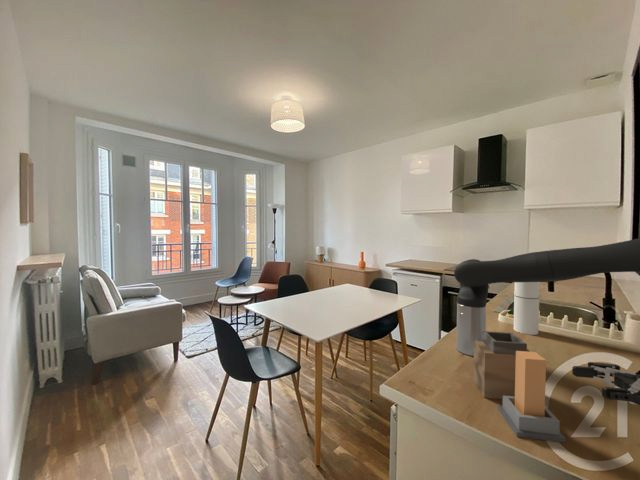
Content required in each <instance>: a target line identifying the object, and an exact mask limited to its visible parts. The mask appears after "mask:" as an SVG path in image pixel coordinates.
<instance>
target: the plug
mask: <svg viewBox="0 0 640 480" xmlns="http://www.w3.org/2000/svg"><path fill="white" fill-rule="evenodd" d="M546 375H547V360H546V359H545V358H544V357H543V356H541V355H540V354H539V353H537V352H536V351H530V352H527V351H516V367H515V407H516V408H517V410H518V411H519V412H520V413H521V415H529V416H538V417H545V406H546V379H547V378H546Z"/></svg>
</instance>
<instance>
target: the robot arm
mask: <svg viewBox="0 0 640 480" xmlns="http://www.w3.org/2000/svg"><path fill="white" fill-rule="evenodd" d="M627 272H629V273H636V275H638V276H639V277H640V238H634V239H630V240H625V241H620V242H614V243H613V242H612V243H610V244H609V243H608V244H603V245H596V246H586V247H573V248H572V247H571V248H561V249H551V250H550V249H549V250H541V251H535V252H529V253H528V252H527V253H524V254H522V253H521V254H518V255H513V256H510V257H506V258H501V259H496V260H495V259H494V260H479V259H475V258H472V259H467V260H463V261H462V262H460V263H458V265H456V266H455V269H454V271H453V273H454V274H453V276H454V279H455V280H456V281H457V282H458V283H459V284H460V285H459V291H458V293H457V296H456V341H455V342H456V350H457V351H458V352H460V353H461V354H464V355H467V356H471V357H474V341H482V340H483V331H487V329H486V328H487V300H488V295H489V285H491V284H499V283H515V282H540V283H544V282H546V283H547V282H559V281H560V282H561V281H567V280H575V279H579V278H583V277H588V276H593V275H598V274H607V273H608V274H609V273H627ZM571 374H572V375H573V376H574V377H576V378H587V379H596V380H599V381H603V382H604V383H605V384H606V385H610V386H611V387H610V386H603V387H602V388H601V396H602V397H603V398H604V399H606V400H610V401H611V400H612V401H621V402H627V403H629V404H632V405H638V406H640V369H639V370H638V371H637V372H631V371H628V370H621V365H619V364H611V363H603V362H601V363H600V362H592V361H589V362H587V366H581V365H580V366H579V365H574V366H572V372H571ZM611 377H612V378H613V380H611Z"/></svg>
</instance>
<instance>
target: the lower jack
mask: <svg viewBox="0 0 640 480" xmlns="http://www.w3.org/2000/svg"><path fill="white" fill-rule="evenodd" d="M497 410H498V412H499V413H500V414H501V416H502V417H503V418H504V420H505V422H506V423H507V425H508V426H509V428H510V429H511V430H512V431H513V433H514V435H515V436H516V437H518V438H523V439H525V438H527V439H534V440H543V441H548V440H550V441H551V442H556V441H558V443H566V437H565V436H564V434H562V433H561V432H560V429H561V428H560V426H561V425H560V423H561V422H560V420H559V419H558V417H556V415H554V414H553V413H552V411H551V410H550V409H549V408H548V407H547V406H546V405H545V417H538V416H529V415H521V413H520V412H519V411H518V410H517V408H516V407H515V397H513V396H503V399H502V405H497Z"/></svg>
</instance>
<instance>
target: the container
mask: <svg viewBox="0 0 640 480" xmlns="http://www.w3.org/2000/svg"><path fill="white" fill-rule="evenodd" d="M540 284H541V282H514V290H513V291H514V292H513V293H514V296H513V297H514V298H513V299H514V301H513V330H514V331H515V332H517V333H519V332H520V334H523V335H531V336H534V335H539V324H540V323H539V321H540V320H539V319H540V318H539V317H540V291H541V290H540V288H541V287H540Z"/></svg>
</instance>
